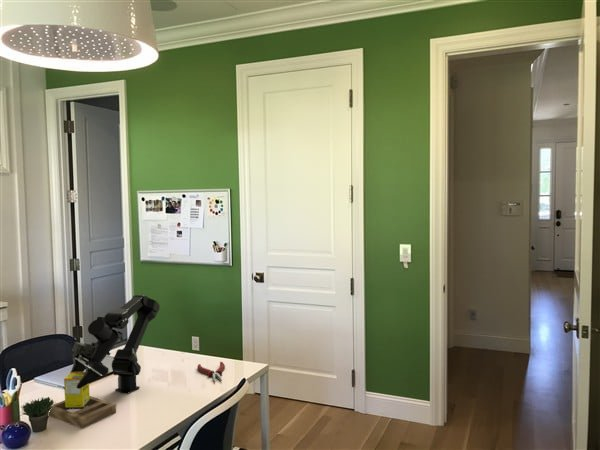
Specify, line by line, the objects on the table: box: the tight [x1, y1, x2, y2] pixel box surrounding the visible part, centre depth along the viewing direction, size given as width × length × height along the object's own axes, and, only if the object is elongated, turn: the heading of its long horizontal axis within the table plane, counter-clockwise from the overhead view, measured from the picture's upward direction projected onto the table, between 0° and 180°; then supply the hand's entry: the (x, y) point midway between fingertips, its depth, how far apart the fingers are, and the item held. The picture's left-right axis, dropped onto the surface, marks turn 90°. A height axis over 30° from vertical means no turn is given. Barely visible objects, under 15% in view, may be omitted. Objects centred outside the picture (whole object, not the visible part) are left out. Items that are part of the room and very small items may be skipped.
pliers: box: [196, 361, 226, 383], centre depth 200 cm, size 12×20×3 cm, turn 20°
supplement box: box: [63, 371, 90, 410], centre depth 164 cm, size 6×6×11 cm
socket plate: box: [48, 395, 117, 429], centre depth 163 cm, size 18×13×3 cm
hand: (72, 384), depth 163 cm, fingers closed on supplement box, 8 cm apart
